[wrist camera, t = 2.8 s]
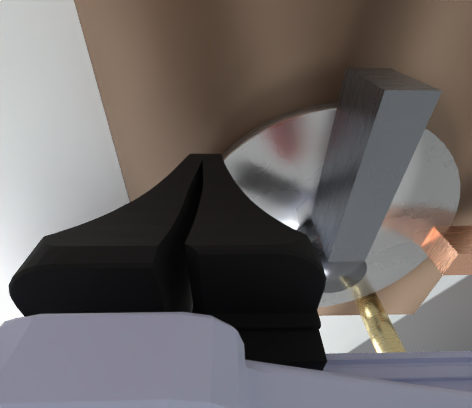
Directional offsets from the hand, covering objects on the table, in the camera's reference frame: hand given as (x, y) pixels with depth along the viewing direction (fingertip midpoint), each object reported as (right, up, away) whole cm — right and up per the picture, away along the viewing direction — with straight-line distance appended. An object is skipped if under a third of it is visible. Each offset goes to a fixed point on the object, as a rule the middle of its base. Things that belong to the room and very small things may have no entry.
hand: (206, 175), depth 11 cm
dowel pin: (+11, -7, +9) cm, 16 cm away
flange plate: (+7, -2, +4) cm, 8 cm away
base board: (+6, -1, +6) cm, 8 cm away
